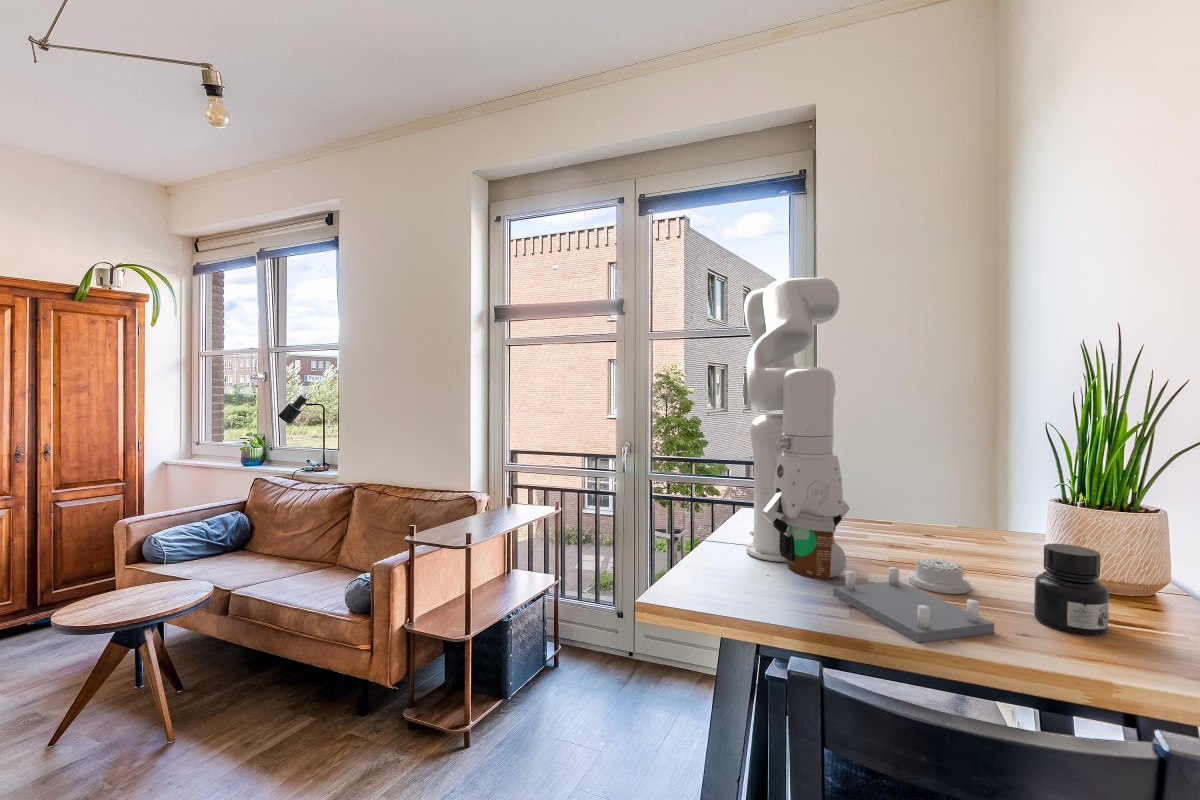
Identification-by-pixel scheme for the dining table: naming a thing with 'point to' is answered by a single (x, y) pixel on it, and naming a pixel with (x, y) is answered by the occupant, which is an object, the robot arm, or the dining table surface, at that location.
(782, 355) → the robot arm
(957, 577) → the white cake
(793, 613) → the dining table surface
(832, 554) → the perfume bottle
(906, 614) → the seating plate
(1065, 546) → the ink bottle
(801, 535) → the food container
